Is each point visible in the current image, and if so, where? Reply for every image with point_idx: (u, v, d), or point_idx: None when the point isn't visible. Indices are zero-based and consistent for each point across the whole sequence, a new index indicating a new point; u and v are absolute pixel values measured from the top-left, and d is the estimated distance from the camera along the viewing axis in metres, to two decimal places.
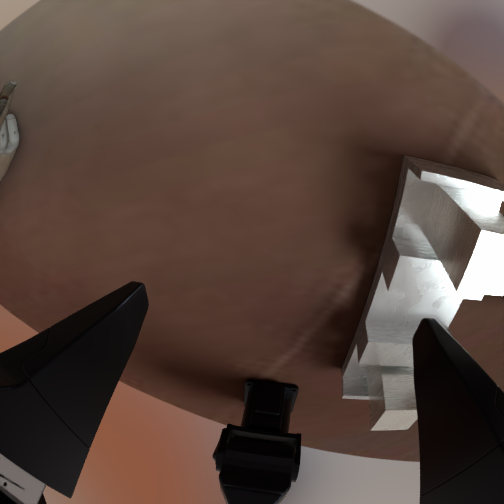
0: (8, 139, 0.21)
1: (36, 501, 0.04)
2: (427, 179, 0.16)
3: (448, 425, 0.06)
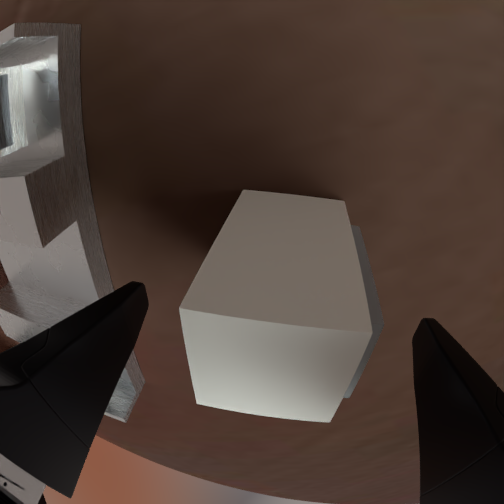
0: None
1: (36, 501, 0.04)
2: None
3: (448, 425, 0.06)
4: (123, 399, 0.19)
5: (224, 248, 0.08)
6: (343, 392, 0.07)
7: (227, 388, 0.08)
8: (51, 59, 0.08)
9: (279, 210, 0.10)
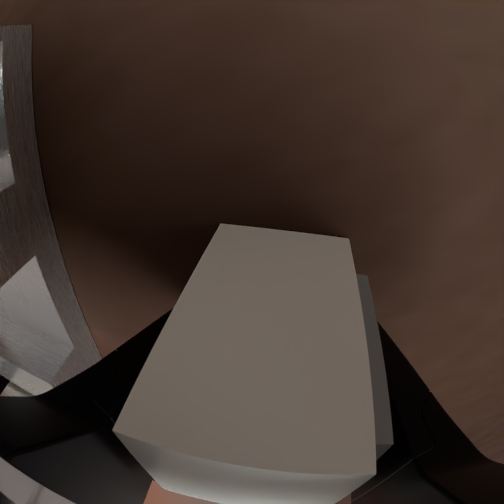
0: None
1: None
2: None
3: None
4: None
5: (181, 327, 0.06)
6: (333, 502, 0.04)
7: (192, 488, 0.05)
8: None
9: (262, 259, 0.08)
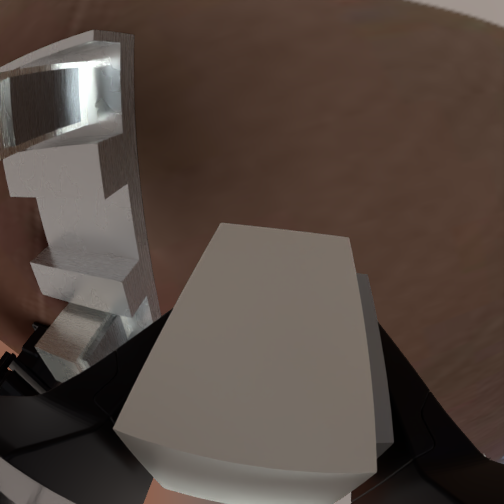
0: None
1: None
2: None
3: None
4: None
5: (182, 326, 0.06)
6: (334, 501, 0.04)
7: (193, 487, 0.05)
8: (114, 59, 0.13)
9: (263, 258, 0.08)
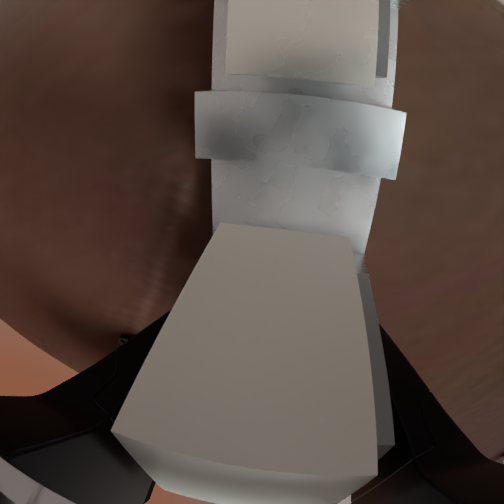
0: None
1: None
2: None
3: None
4: None
5: (181, 327, 0.06)
6: (334, 503, 0.04)
7: (192, 490, 0.05)
8: (390, 25, 0.10)
9: (263, 258, 0.08)
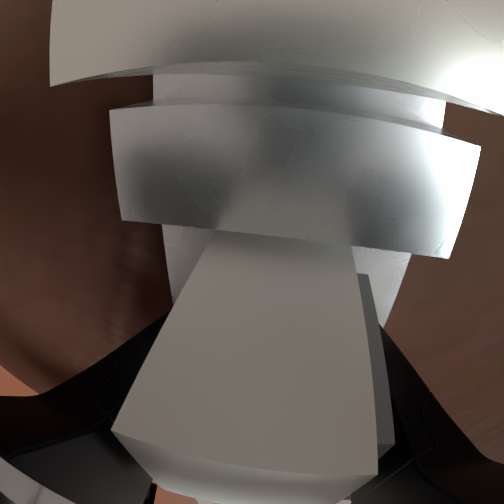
0: None
1: None
2: None
3: None
4: None
5: (181, 326, 0.06)
6: (334, 503, 0.04)
7: (192, 489, 0.05)
8: None
9: (262, 257, 0.08)
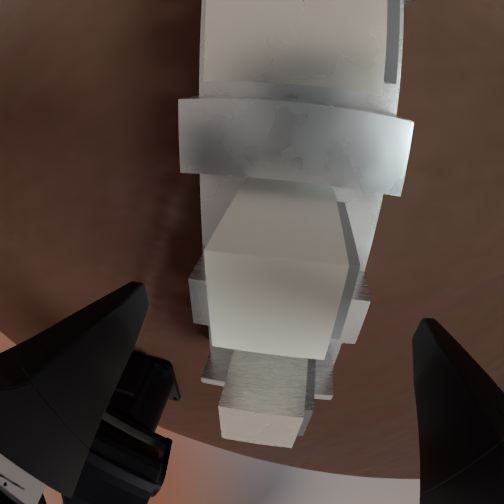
0: None
1: (36, 501, 0.04)
2: None
3: (448, 425, 0.06)
4: (323, 376, 0.20)
5: (235, 214, 0.11)
6: (332, 325, 0.09)
7: (238, 325, 0.10)
8: None
9: (277, 189, 0.13)
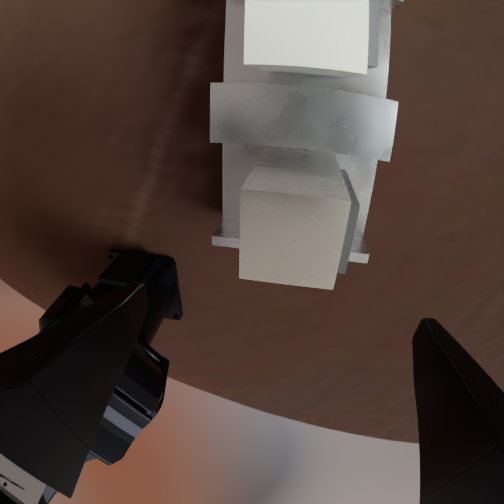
0: None
1: (36, 501, 0.04)
2: None
3: (448, 425, 0.06)
4: (354, 239, 0.18)
5: None
6: (367, 26, 0.07)
7: (274, 30, 0.08)
8: None
9: None
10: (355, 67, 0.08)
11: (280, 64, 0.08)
